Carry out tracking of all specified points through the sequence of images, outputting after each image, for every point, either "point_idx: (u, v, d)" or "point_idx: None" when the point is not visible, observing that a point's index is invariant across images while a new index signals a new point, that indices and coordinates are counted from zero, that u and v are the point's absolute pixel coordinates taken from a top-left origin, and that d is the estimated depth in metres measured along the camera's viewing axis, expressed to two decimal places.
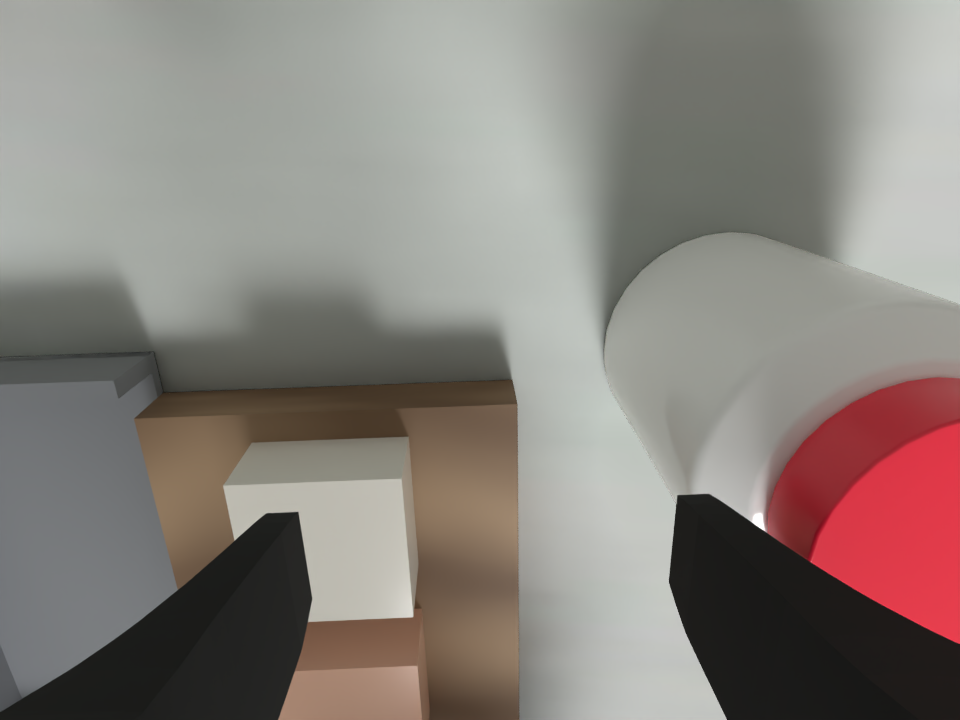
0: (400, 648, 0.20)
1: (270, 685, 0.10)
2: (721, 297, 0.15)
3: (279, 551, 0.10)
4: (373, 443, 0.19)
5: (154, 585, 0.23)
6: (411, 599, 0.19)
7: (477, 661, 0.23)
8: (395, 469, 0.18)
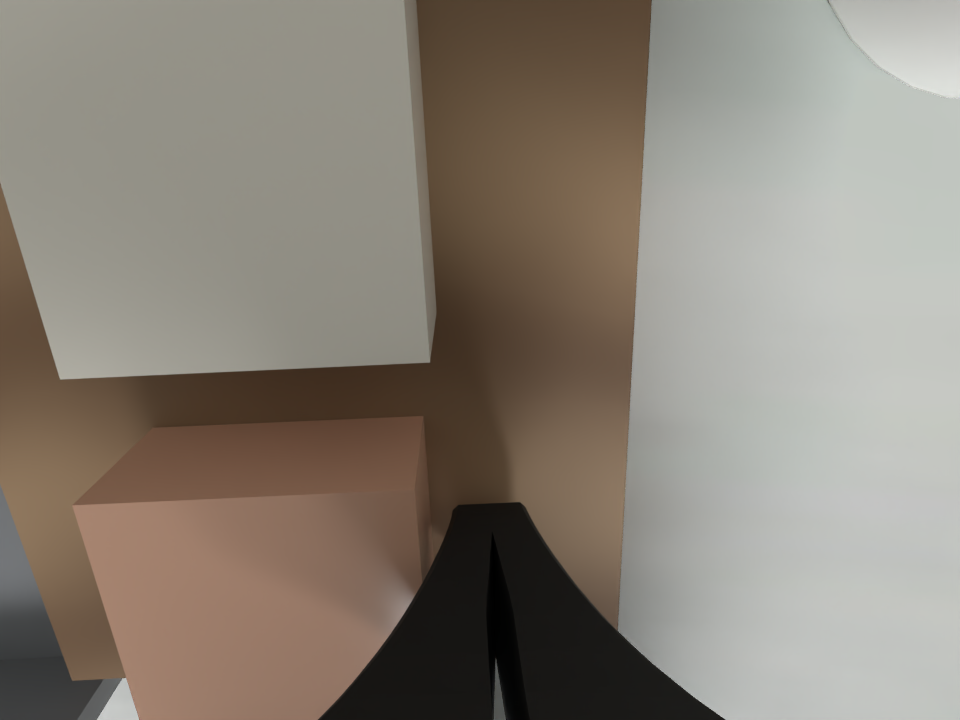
0: (378, 466, 0.10)
1: (492, 674, 0.10)
2: None
3: (492, 542, 0.10)
4: None
5: None
6: (425, 316, 0.08)
7: (546, 529, 0.12)
8: None
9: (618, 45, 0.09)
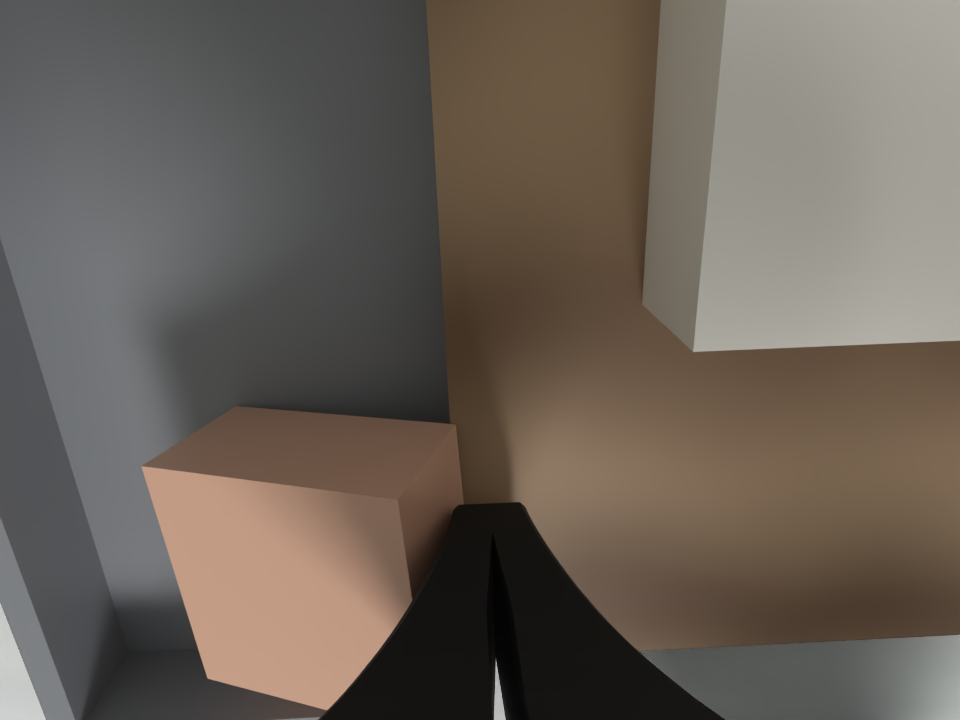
0: (382, 470, 0.10)
1: (492, 674, 0.10)
2: None
3: (493, 542, 0.10)
4: None
5: (364, 377, 0.13)
6: None
7: None
8: None
9: None
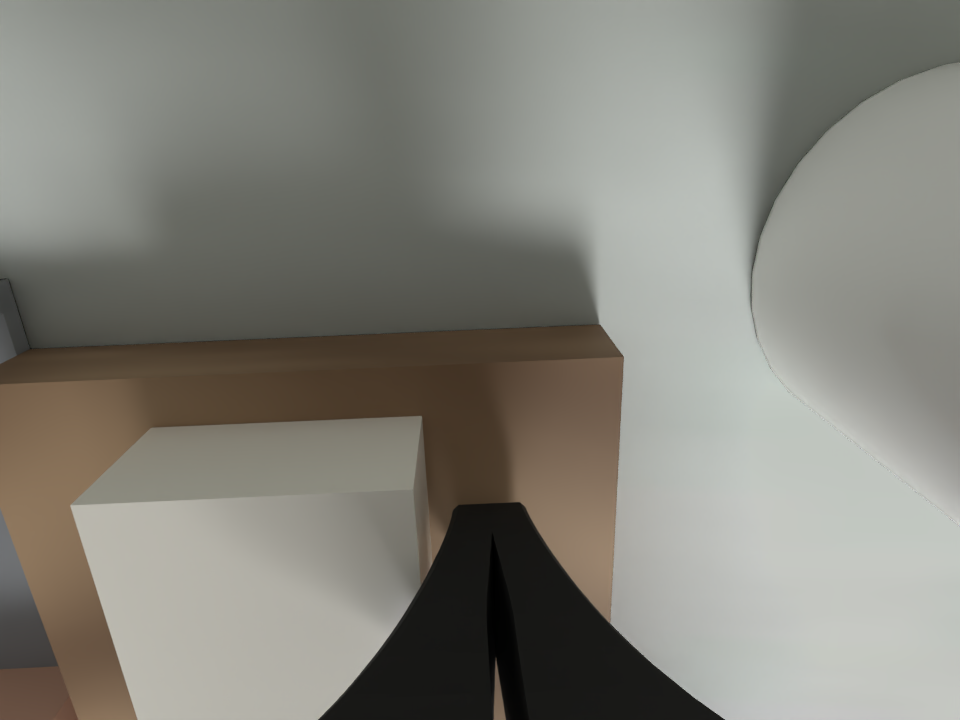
0: None
1: (493, 674, 0.10)
2: None
3: (493, 542, 0.10)
4: (361, 427, 0.11)
5: (39, 653, 0.15)
6: None
7: None
8: (400, 472, 0.09)
9: (594, 451, 0.12)
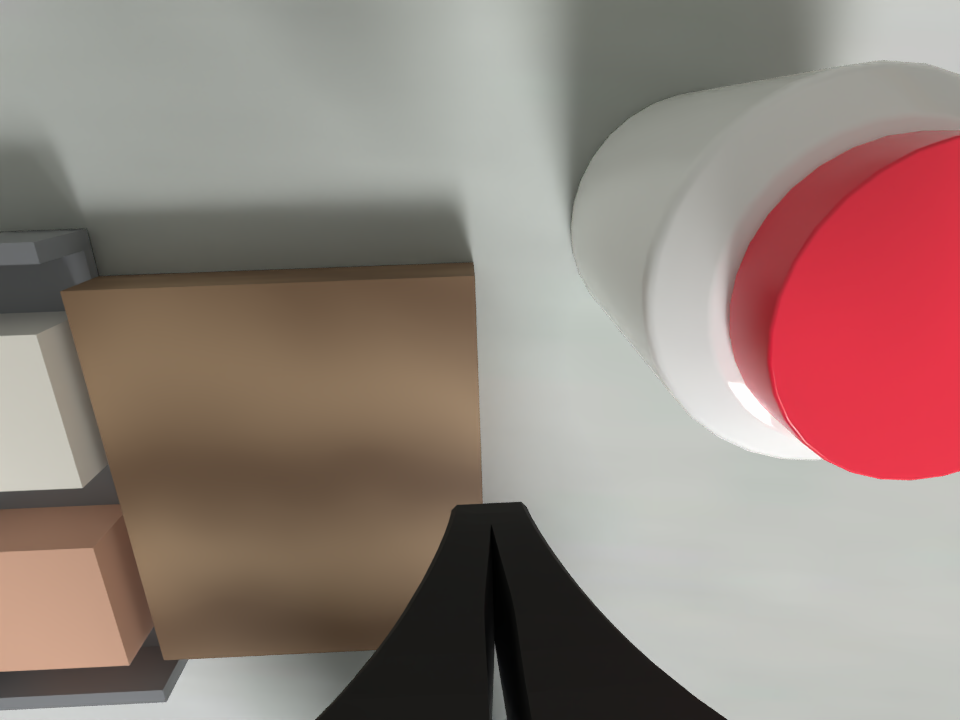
0: (86, 534, 0.20)
1: (491, 674, 0.10)
2: (685, 115, 0.13)
3: (490, 542, 0.10)
4: (45, 314, 0.19)
5: (96, 494, 0.22)
6: (77, 468, 0.19)
7: None
8: (39, 329, 0.17)
9: (461, 338, 0.18)
